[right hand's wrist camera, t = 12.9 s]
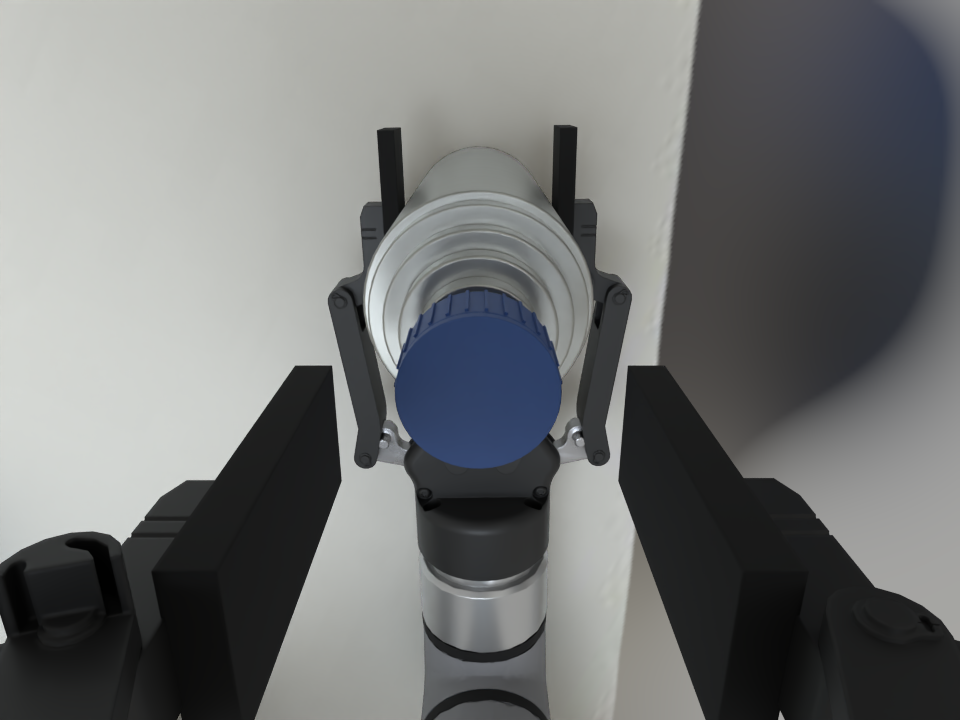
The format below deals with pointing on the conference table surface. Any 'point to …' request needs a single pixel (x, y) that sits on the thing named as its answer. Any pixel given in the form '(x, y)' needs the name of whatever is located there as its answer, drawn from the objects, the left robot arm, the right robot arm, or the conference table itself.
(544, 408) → the cap
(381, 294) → the bottle
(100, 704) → the right robot arm
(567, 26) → the conference table surface
